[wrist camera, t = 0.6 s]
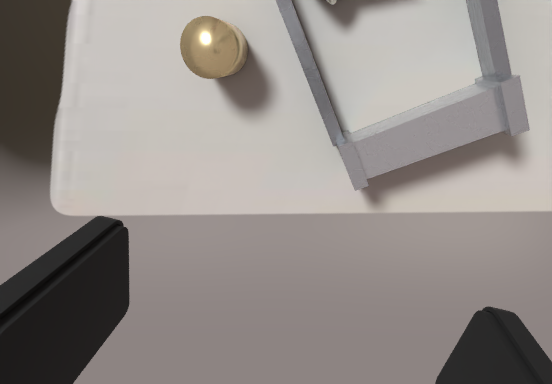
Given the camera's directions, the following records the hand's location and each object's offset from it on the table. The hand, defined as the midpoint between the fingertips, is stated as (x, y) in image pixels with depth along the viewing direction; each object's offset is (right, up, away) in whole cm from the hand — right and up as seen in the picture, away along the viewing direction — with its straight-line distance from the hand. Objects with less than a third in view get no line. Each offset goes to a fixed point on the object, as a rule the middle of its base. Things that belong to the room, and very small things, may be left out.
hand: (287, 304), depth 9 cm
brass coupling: (-6, +18, +24) cm, 30 cm away
